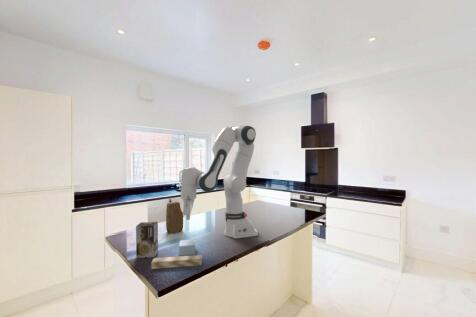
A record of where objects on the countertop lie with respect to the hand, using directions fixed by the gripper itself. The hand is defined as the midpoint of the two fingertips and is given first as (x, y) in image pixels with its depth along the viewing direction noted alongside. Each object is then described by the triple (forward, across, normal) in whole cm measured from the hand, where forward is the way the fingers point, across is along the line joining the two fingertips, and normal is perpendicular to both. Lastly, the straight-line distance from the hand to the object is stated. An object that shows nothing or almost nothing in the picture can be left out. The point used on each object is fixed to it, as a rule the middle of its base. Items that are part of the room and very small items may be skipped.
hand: (188, 219), depth 121 cm
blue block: (+15, -9, -1) cm, 18 cm away
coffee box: (+15, -10, +19) cm, 27 cm away
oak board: (+15, -23, +2) cm, 28 cm away
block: (+15, +25, +11) cm, 31 cm away
